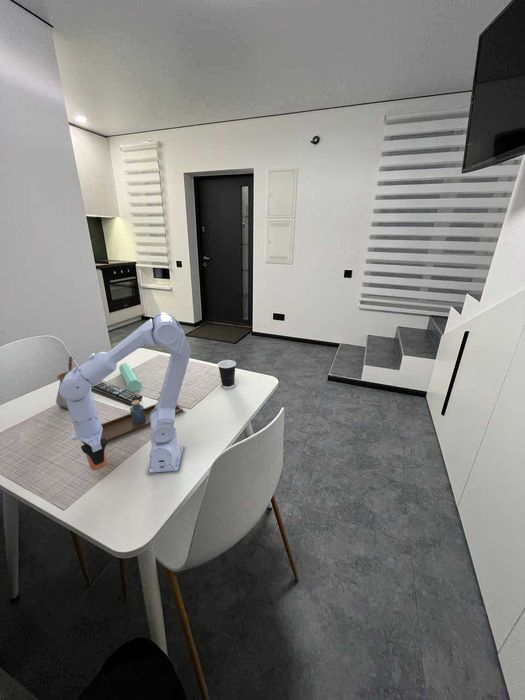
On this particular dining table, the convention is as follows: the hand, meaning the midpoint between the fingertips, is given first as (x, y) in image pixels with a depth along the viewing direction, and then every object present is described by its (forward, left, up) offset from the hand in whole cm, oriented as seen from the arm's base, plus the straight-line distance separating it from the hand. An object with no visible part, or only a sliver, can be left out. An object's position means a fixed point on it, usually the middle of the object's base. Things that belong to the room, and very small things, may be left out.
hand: (97, 457), depth 78 cm
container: (+58, +11, -7) cm, 60 cm away
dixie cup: (+48, -35, -7) cm, 60 cm away
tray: (+25, -3, -7) cm, 26 cm away
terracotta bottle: (0, 0, -2) cm, 2 cm away
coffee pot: (+45, +28, -7) cm, 53 cm away
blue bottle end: (+30, -11, -6) cm, 33 cm away
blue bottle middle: (+25, -3, -6) cm, 26 cm away
